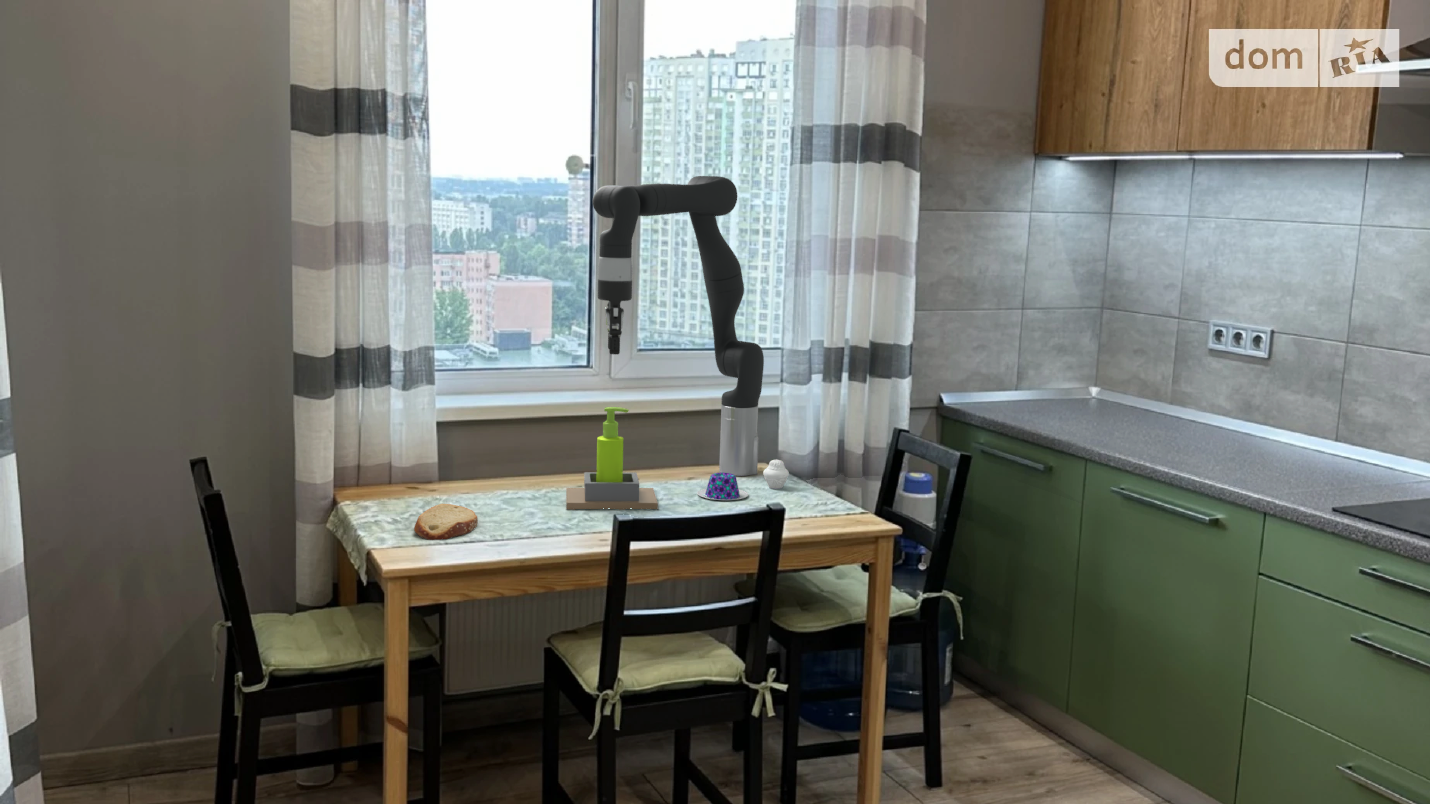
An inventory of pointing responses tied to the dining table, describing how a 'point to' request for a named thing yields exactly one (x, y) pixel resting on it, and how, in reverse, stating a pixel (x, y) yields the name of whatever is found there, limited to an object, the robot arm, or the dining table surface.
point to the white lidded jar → (776, 474)
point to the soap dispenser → (610, 449)
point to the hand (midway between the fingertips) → (613, 351)
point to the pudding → (722, 487)
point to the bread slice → (445, 522)
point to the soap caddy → (611, 494)
